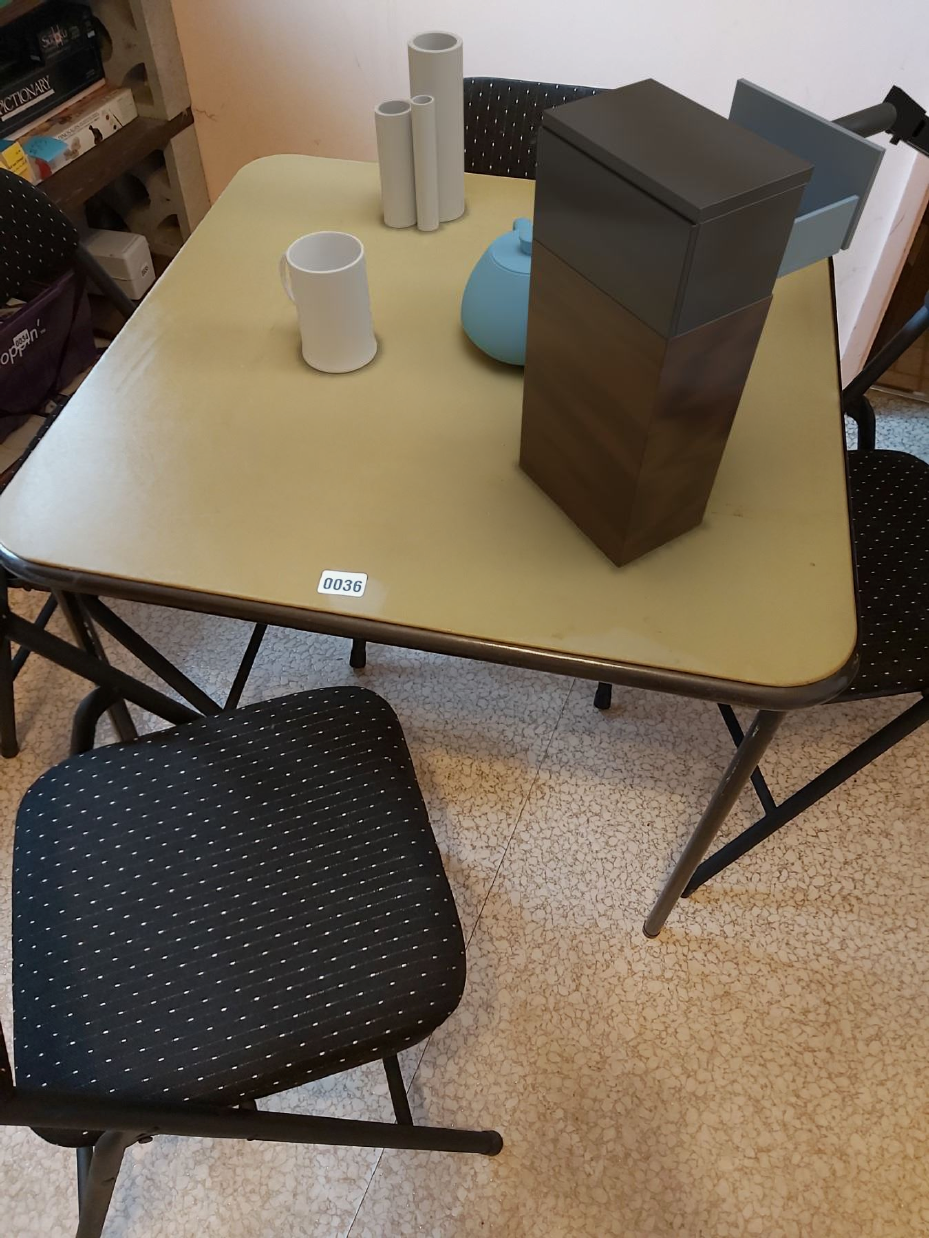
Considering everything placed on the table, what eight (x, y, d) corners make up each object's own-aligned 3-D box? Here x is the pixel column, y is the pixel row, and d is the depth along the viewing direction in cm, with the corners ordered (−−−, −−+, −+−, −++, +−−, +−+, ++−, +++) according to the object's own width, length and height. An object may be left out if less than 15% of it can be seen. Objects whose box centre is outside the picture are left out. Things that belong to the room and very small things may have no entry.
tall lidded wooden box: (597, 429, 87) (650, 77, 61) (701, 524, 79) (815, 165, 53) (518, 465, 84) (539, 111, 58) (618, 568, 76) (695, 210, 50)
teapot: (453, 293, 102) (451, 189, 92) (614, 283, 104) (629, 179, 93) (470, 397, 91) (469, 291, 81) (651, 384, 92) (673, 277, 82)
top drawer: (805, 142, 73) (834, 48, 67) (937, 211, 66) (981, 112, 60) (631, 205, 67) (646, 108, 61) (755, 288, 60) (785, 187, 54)
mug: (268, 341, 97) (246, 242, 87) (323, 308, 101) (307, 210, 91) (337, 383, 92) (321, 284, 83) (392, 348, 96) (383, 249, 86)
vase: (445, 192, 117) (440, 26, 101) (476, 213, 114) (476, 45, 98) (377, 218, 113) (361, 49, 97) (406, 240, 110) (395, 69, 94)
